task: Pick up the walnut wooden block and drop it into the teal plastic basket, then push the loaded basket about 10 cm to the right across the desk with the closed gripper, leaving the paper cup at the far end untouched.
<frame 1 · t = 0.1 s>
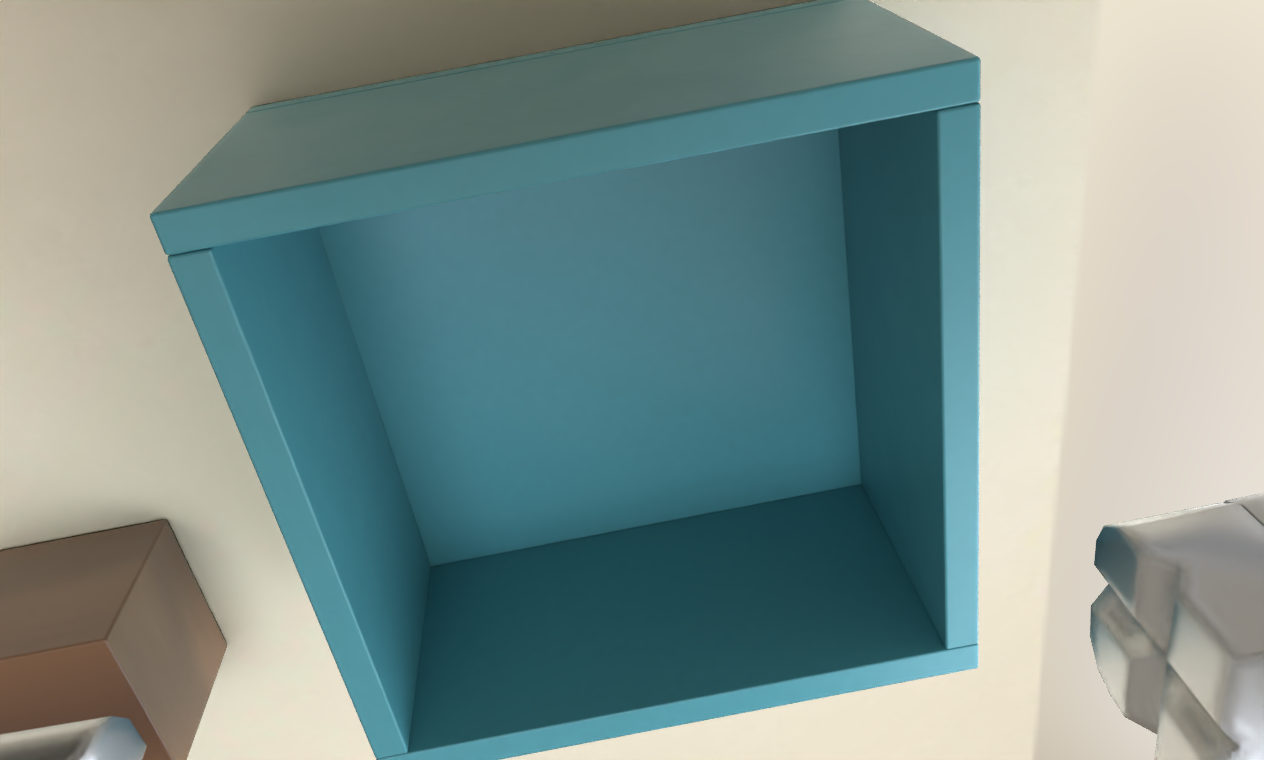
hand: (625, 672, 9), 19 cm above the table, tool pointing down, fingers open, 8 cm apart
block: (116, 599, 31), on the table
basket: (606, 322, 28), on the table
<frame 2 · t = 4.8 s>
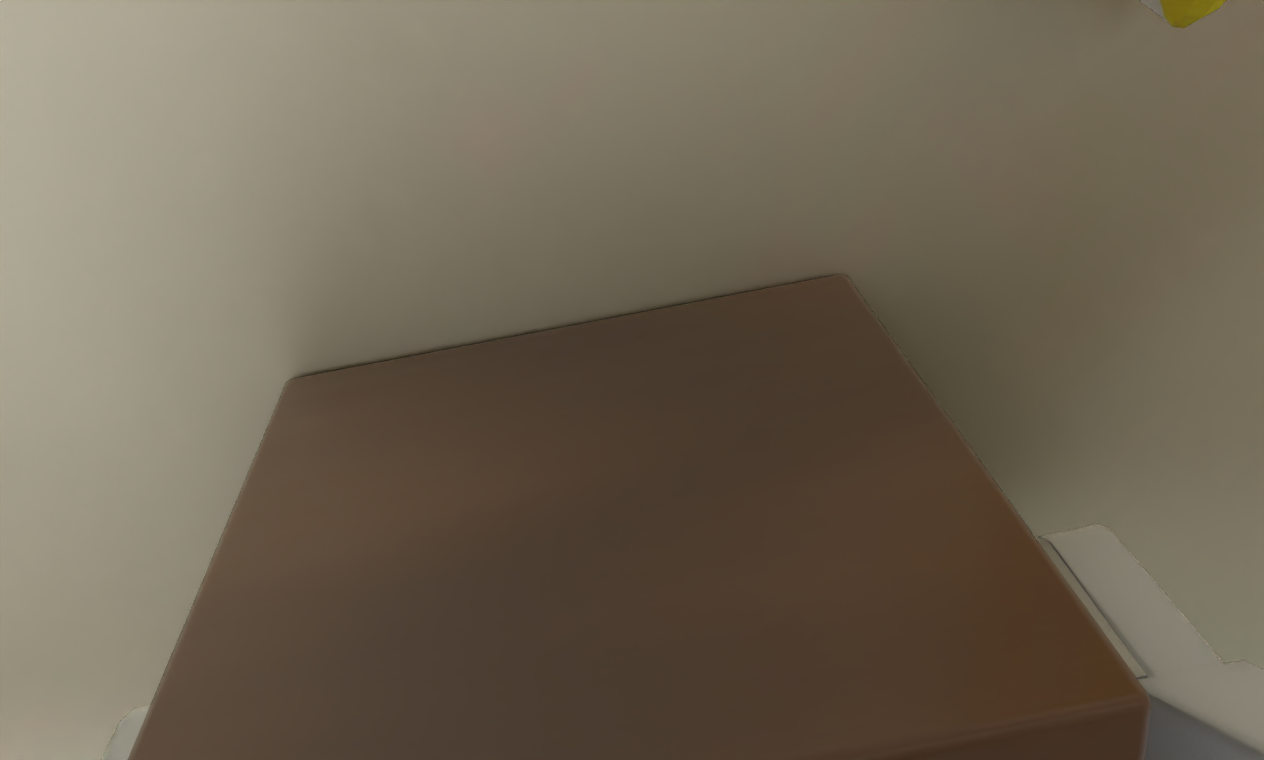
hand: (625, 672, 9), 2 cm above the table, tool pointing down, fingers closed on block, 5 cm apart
block: (614, 546, 10), on the table, touching gripper
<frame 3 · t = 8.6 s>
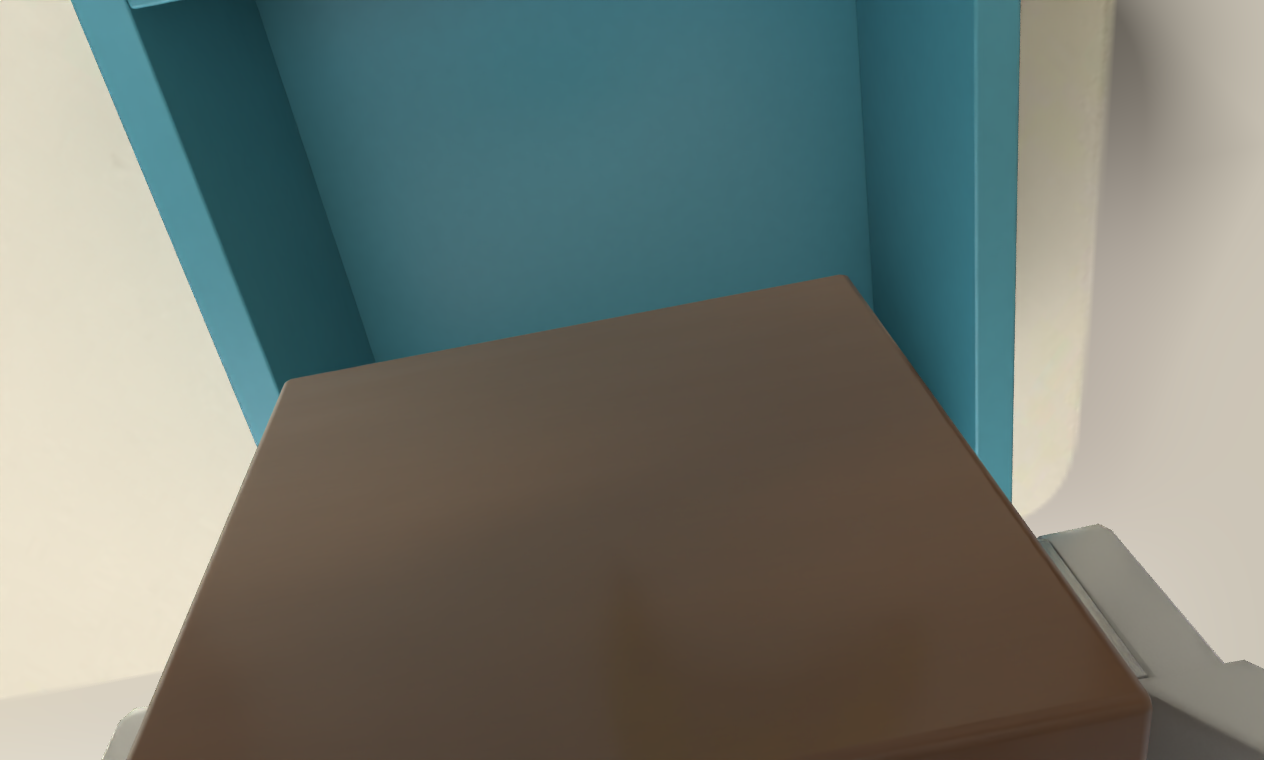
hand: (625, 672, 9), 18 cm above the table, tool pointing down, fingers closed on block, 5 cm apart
block: (614, 546, 10), point 16 cm above the table, touching gripper
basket: (598, 182, 25), on the table
when the fingers open (2 cm above the table, at t = 12.7 s): block stays where it is, resting on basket.
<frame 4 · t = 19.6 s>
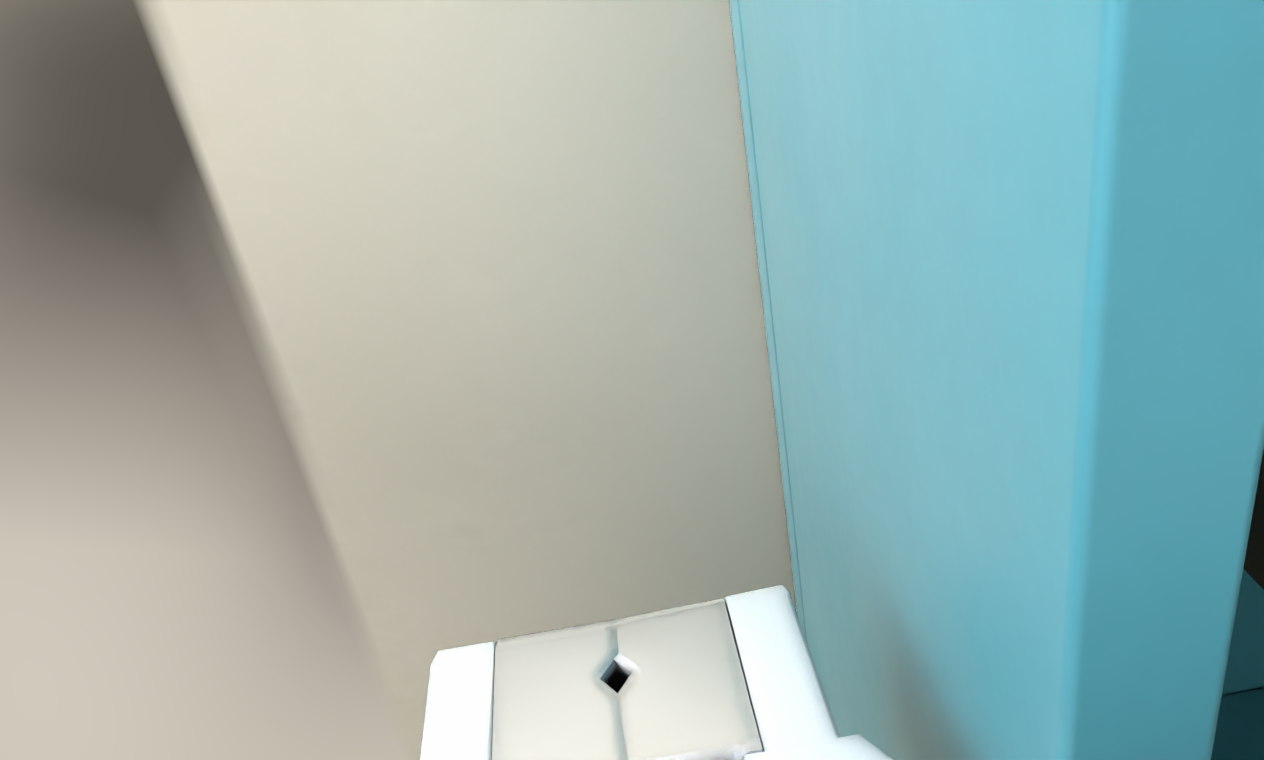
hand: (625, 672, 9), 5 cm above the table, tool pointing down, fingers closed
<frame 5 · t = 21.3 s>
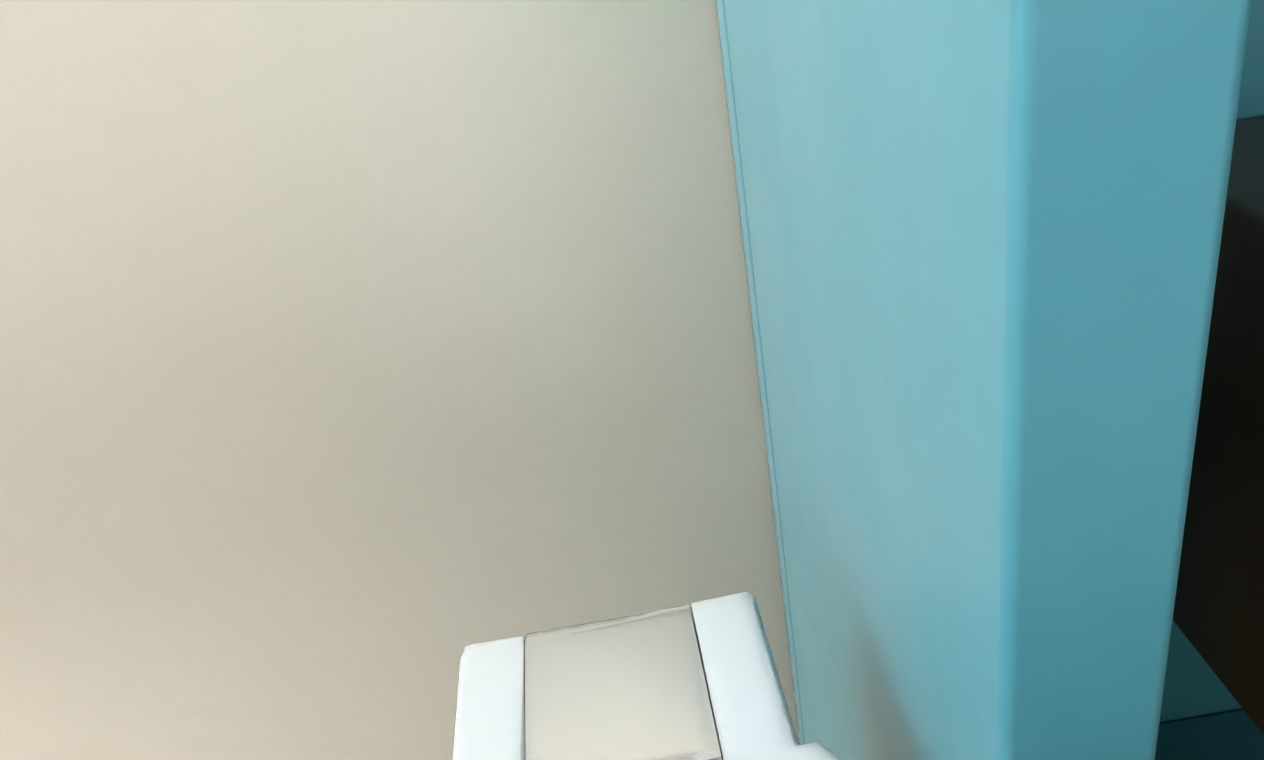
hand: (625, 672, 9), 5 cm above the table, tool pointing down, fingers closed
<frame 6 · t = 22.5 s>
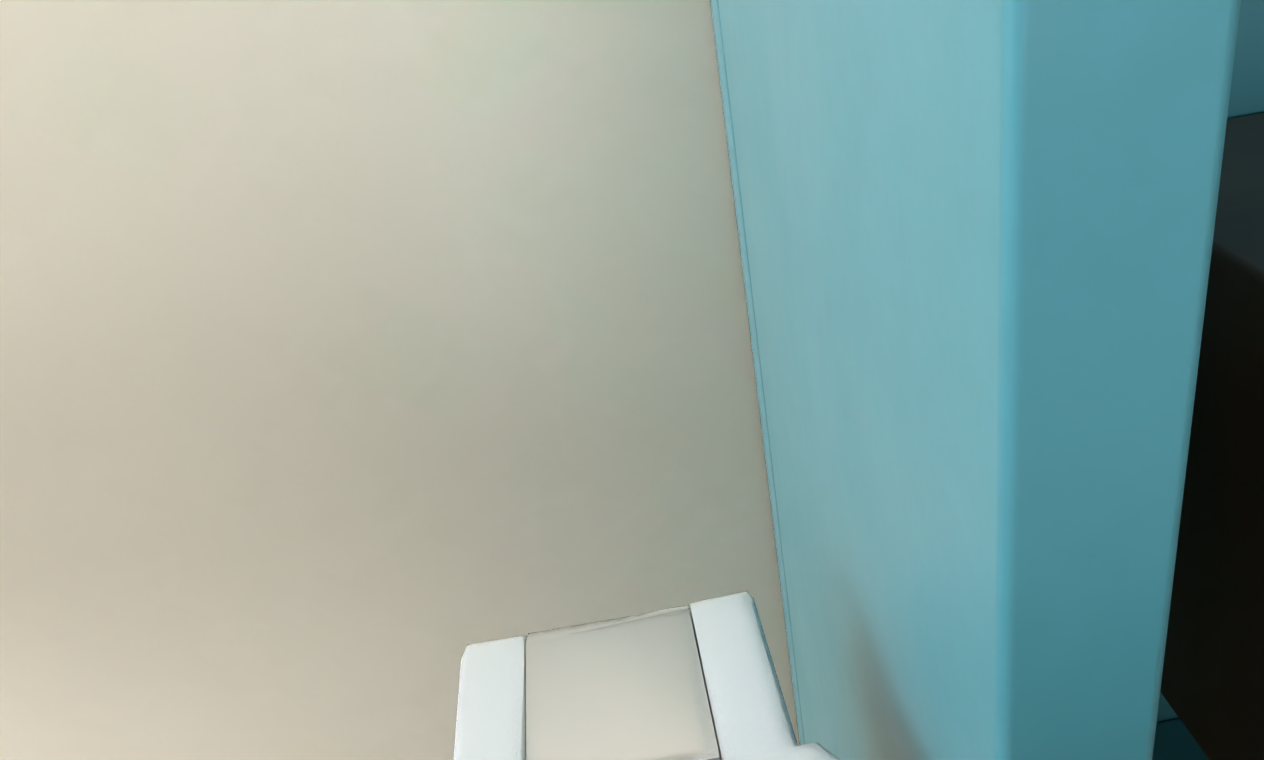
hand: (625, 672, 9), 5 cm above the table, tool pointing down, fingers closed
block: (1253, 317, 12), point 1 cm above the table, touching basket
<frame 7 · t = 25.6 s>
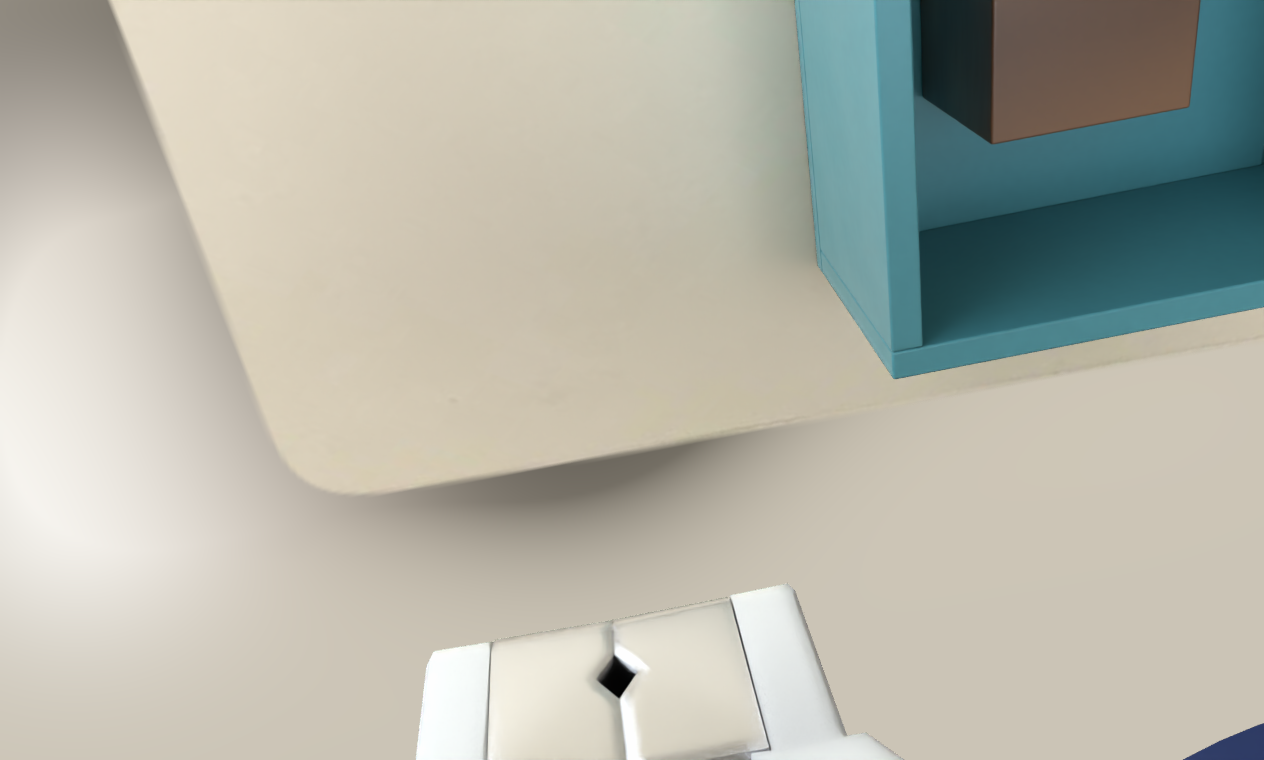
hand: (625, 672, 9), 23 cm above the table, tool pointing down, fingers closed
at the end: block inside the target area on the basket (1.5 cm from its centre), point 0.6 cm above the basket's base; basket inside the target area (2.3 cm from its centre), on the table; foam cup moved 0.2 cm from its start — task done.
